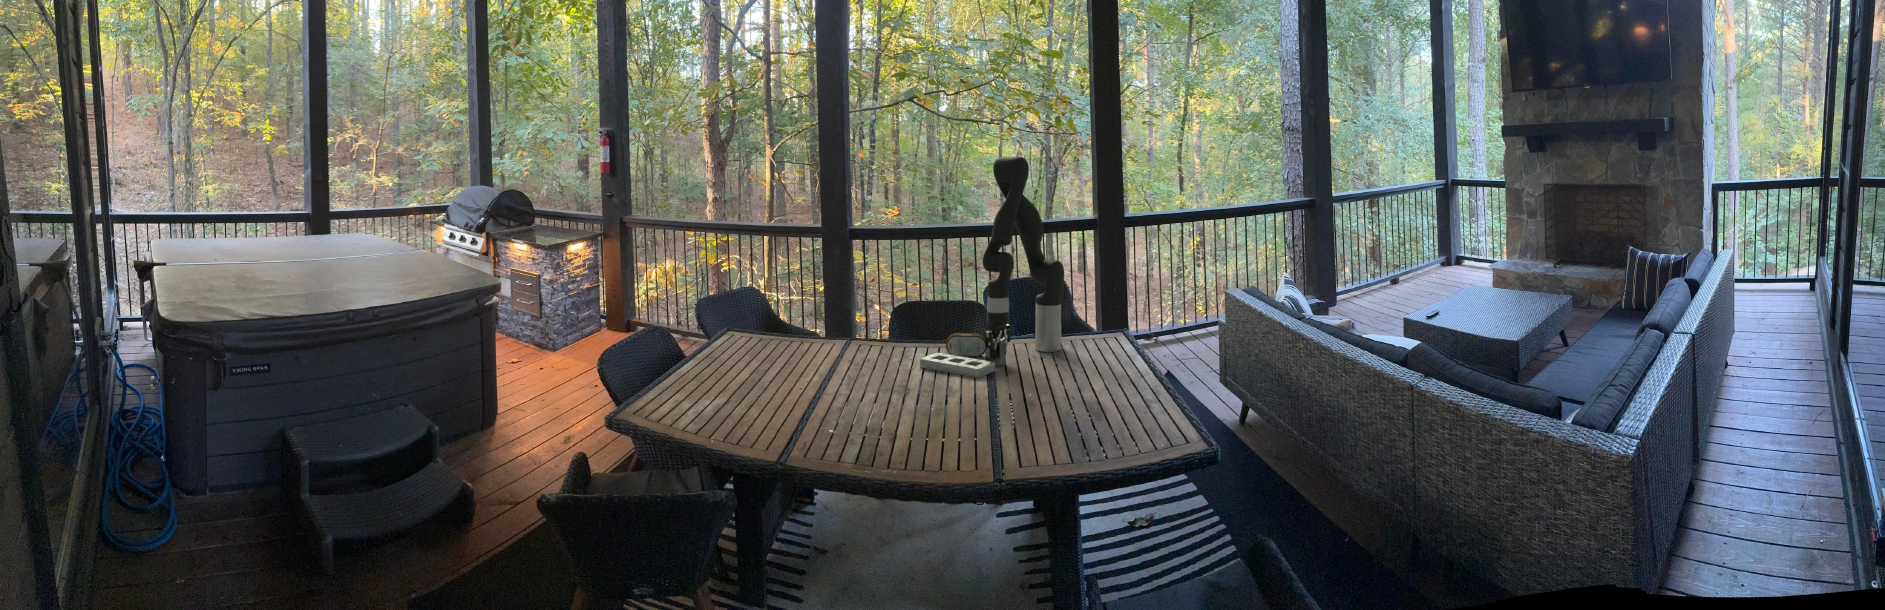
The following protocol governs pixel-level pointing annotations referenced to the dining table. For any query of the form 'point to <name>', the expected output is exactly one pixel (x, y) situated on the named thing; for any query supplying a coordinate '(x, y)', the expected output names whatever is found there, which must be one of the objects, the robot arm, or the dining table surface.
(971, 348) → the tin
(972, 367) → the rail
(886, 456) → the dining table surface
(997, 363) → the square peg
